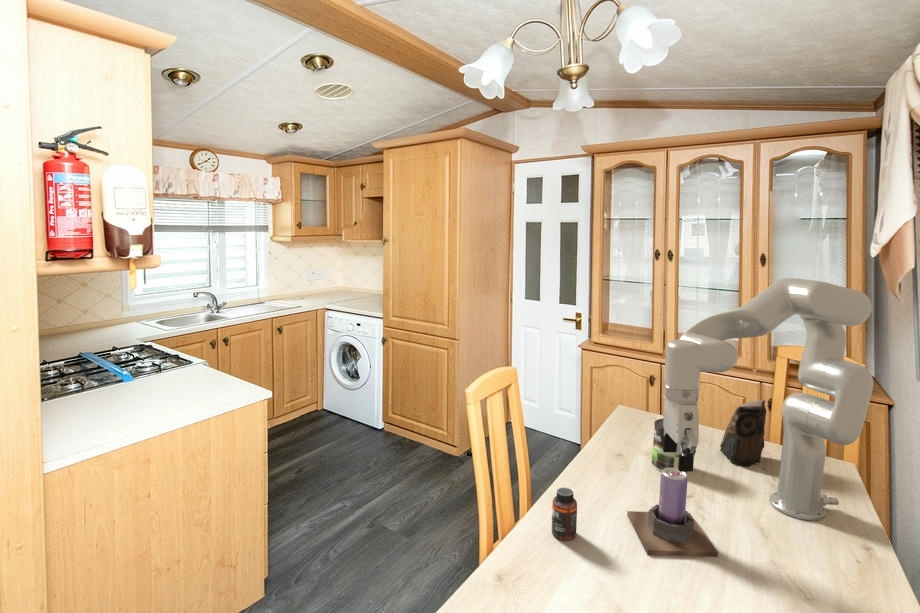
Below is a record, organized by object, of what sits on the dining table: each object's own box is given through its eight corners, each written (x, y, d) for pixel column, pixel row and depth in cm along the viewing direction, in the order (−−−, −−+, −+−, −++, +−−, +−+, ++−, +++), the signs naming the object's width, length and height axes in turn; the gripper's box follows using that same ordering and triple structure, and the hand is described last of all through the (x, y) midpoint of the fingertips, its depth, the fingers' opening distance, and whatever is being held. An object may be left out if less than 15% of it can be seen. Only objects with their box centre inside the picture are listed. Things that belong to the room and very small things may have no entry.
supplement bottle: (577, 529, 125) (579, 487, 124) (574, 543, 120) (576, 499, 118) (553, 525, 127) (555, 483, 126) (549, 538, 122) (551, 495, 120)
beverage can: (686, 538, 120) (690, 480, 118) (659, 535, 121) (663, 477, 119) (680, 524, 126) (684, 468, 123) (655, 521, 127) (659, 465, 125)
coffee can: (655, 473, 154) (658, 430, 152) (648, 458, 164) (650, 417, 162) (691, 476, 153) (694, 432, 151) (681, 460, 163) (684, 419, 161)
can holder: (689, 517, 131) (690, 498, 130) (717, 556, 116) (719, 536, 115) (627, 515, 132) (628, 497, 131) (647, 554, 116) (648, 534, 115)
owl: (761, 455, 167) (767, 397, 164) (770, 472, 156) (777, 410, 153) (719, 449, 172) (724, 393, 169) (724, 465, 160) (730, 405, 157)
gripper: (714, 406, 109) (709, 479, 112) (682, 381, 126) (679, 445, 129) (679, 406, 110) (675, 479, 112) (652, 381, 127) (649, 445, 129)
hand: (677, 461), depth 121 cm, fingers open, 9 cm apart
